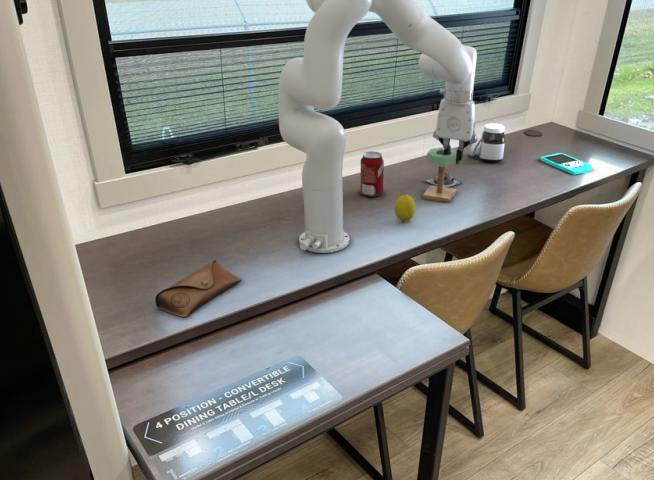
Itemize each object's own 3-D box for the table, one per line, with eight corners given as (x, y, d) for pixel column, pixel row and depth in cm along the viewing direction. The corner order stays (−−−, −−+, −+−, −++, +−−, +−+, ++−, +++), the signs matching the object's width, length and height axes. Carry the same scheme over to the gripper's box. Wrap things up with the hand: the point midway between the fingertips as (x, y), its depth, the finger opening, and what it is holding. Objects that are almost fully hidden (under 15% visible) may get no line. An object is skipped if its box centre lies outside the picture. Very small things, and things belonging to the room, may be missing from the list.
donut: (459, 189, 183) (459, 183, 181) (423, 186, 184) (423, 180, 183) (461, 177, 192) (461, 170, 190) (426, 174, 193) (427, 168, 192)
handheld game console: (572, 175, 196) (573, 171, 195) (539, 160, 208) (539, 156, 207) (594, 170, 200) (595, 166, 200) (560, 155, 212) (561, 152, 211)
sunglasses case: (186, 317, 121) (169, 288, 119) (167, 323, 125) (150, 296, 124) (244, 278, 134) (229, 252, 133) (225, 285, 139) (210, 260, 137)
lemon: (418, 222, 163) (420, 194, 159) (405, 228, 160) (406, 200, 155) (403, 215, 166) (404, 188, 162) (389, 221, 163) (390, 194, 158)
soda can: (373, 200, 175) (374, 160, 168) (355, 194, 178) (355, 154, 172) (387, 193, 180) (388, 154, 173) (370, 187, 183) (370, 149, 176)
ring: (453, 167, 169) (454, 158, 167) (424, 163, 171) (425, 155, 169) (460, 157, 175) (460, 149, 174) (432, 154, 177) (432, 146, 176)
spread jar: (503, 165, 202) (508, 131, 196) (470, 164, 202) (473, 130, 196) (498, 153, 212) (502, 120, 206) (466, 152, 212) (469, 119, 206)
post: (449, 202, 175) (451, 172, 170) (422, 198, 177) (424, 168, 172) (455, 192, 181) (458, 163, 176) (430, 188, 183) (432, 159, 178)
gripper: (426, 95, 162) (421, 162, 171) (485, 102, 157) (477, 170, 167) (433, 89, 168) (429, 154, 177) (490, 95, 163) (483, 161, 173)
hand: (452, 161), depth 172 cm, fingers closed on ring, 2 cm apart
